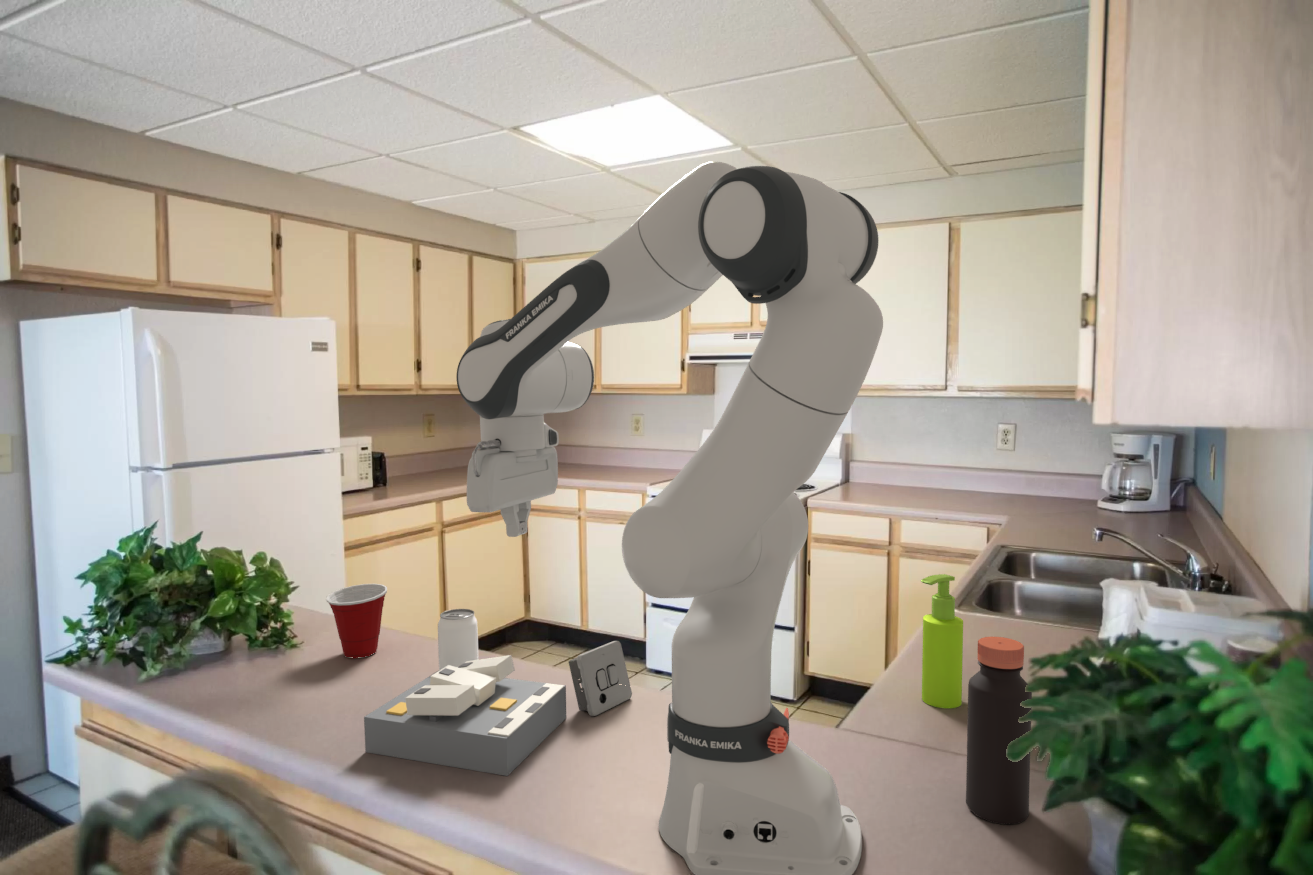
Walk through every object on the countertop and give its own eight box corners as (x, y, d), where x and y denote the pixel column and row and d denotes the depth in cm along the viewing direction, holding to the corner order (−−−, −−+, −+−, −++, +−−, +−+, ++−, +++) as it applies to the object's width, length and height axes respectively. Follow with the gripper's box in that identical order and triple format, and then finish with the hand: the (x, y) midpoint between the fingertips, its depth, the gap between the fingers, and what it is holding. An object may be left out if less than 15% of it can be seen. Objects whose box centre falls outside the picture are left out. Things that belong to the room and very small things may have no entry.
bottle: (959, 814, 90) (963, 646, 88) (972, 788, 96) (975, 630, 94) (1023, 832, 86) (1028, 657, 85) (1033, 804, 92) (1037, 639, 90)
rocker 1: (476, 701, 107) (473, 683, 107) (458, 715, 103) (455, 696, 103) (427, 701, 110) (424, 684, 110) (407, 714, 106) (405, 696, 105)
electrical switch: (593, 719, 116) (587, 657, 116) (568, 713, 120) (563, 653, 120) (633, 698, 124) (628, 641, 124) (609, 694, 127) (604, 637, 127)
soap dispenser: (908, 698, 122) (910, 574, 121) (940, 690, 125) (942, 568, 124) (937, 712, 117) (940, 583, 116) (969, 703, 120) (972, 577, 119)
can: (470, 691, 127) (467, 620, 126) (432, 689, 128) (430, 618, 127) (484, 676, 133) (482, 608, 132) (449, 674, 134) (447, 607, 134)
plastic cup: (316, 655, 144) (313, 592, 144) (368, 640, 153) (366, 580, 152) (349, 668, 138) (346, 602, 137) (401, 651, 146) (399, 588, 146)
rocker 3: (514, 670, 118) (511, 653, 118) (500, 681, 113) (496, 664, 113) (470, 676, 120) (466, 660, 120) (454, 687, 116) (450, 670, 116)
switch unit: (566, 717, 117) (565, 680, 116) (507, 775, 100) (506, 733, 99) (440, 700, 124) (439, 665, 123) (365, 751, 107) (363, 711, 106)
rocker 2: (494, 693, 113) (496, 676, 112) (478, 705, 108) (479, 688, 108) (447, 680, 115) (448, 663, 115) (429, 691, 111) (430, 674, 110)
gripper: (495, 441, 98) (500, 550, 99) (563, 432, 117) (567, 523, 118) (451, 442, 100) (456, 548, 100) (526, 433, 119) (530, 522, 120)
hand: (517, 535), depth 109 cm, fingers closed
